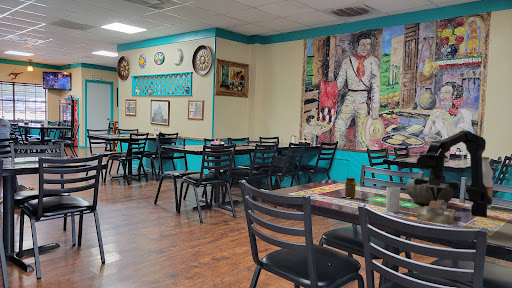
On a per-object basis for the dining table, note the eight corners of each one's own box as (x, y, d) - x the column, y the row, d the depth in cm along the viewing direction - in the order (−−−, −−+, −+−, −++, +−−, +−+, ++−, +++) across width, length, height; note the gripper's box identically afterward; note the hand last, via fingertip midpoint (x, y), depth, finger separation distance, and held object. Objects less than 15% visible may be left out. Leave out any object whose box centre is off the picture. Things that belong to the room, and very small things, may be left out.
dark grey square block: (444, 206, 183) (444, 200, 183) (443, 207, 180) (443, 201, 180) (434, 205, 186) (434, 199, 186) (433, 206, 182) (433, 200, 182)
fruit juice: (495, 208, 202) (498, 157, 201) (480, 208, 201) (483, 157, 199) (482, 204, 212) (485, 156, 210) (467, 205, 210) (470, 156, 209)
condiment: (358, 197, 224) (358, 178, 223) (350, 199, 218) (351, 179, 217) (347, 196, 229) (348, 176, 229) (339, 197, 223) (340, 178, 223)
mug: (387, 208, 196) (388, 186, 195) (400, 210, 192) (401, 187, 191) (382, 212, 187) (383, 188, 187) (395, 214, 184) (396, 190, 183)
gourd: (401, 200, 206) (406, 169, 207) (405, 200, 228) (409, 172, 229) (451, 210, 194) (456, 178, 195) (450, 209, 216) (455, 180, 217)
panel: (455, 216, 182) (455, 204, 182) (450, 224, 166) (451, 211, 166) (424, 211, 190) (424, 200, 190) (417, 219, 174) (417, 206, 173)
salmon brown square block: (441, 208, 173) (441, 202, 173) (439, 210, 170) (440, 203, 170) (430, 207, 176) (431, 200, 176) (429, 208, 172) (429, 202, 172)
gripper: (412, 168, 170) (411, 201, 171) (458, 171, 160) (456, 207, 161) (417, 166, 180) (415, 197, 180) (460, 169, 169) (458, 202, 170)
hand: (435, 201), depth 173 cm, fingers closed
